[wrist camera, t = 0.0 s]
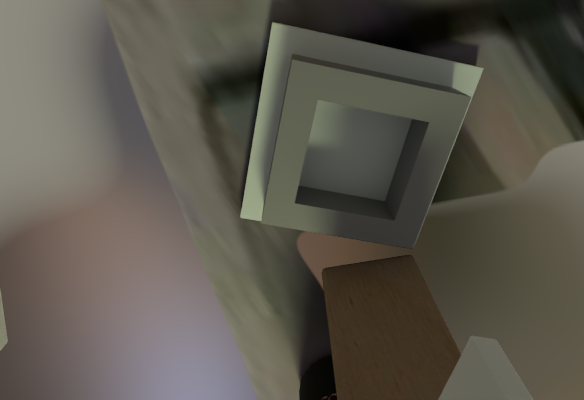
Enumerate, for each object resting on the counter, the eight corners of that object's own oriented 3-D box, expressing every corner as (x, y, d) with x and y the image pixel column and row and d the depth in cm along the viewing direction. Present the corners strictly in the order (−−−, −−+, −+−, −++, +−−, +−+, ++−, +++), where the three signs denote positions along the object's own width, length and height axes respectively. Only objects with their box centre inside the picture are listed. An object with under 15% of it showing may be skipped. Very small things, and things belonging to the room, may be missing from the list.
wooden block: (320, 266, 44) (342, 445, 26) (412, 252, 44) (499, 426, 26) (333, 334, 49) (359, 528, 31) (417, 322, 48) (494, 513, 30)
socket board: (272, 21, 34) (270, 24, 29) (476, 66, 35) (506, 75, 30) (241, 210, 41) (235, 238, 36) (409, 239, 43) (425, 270, 38)
